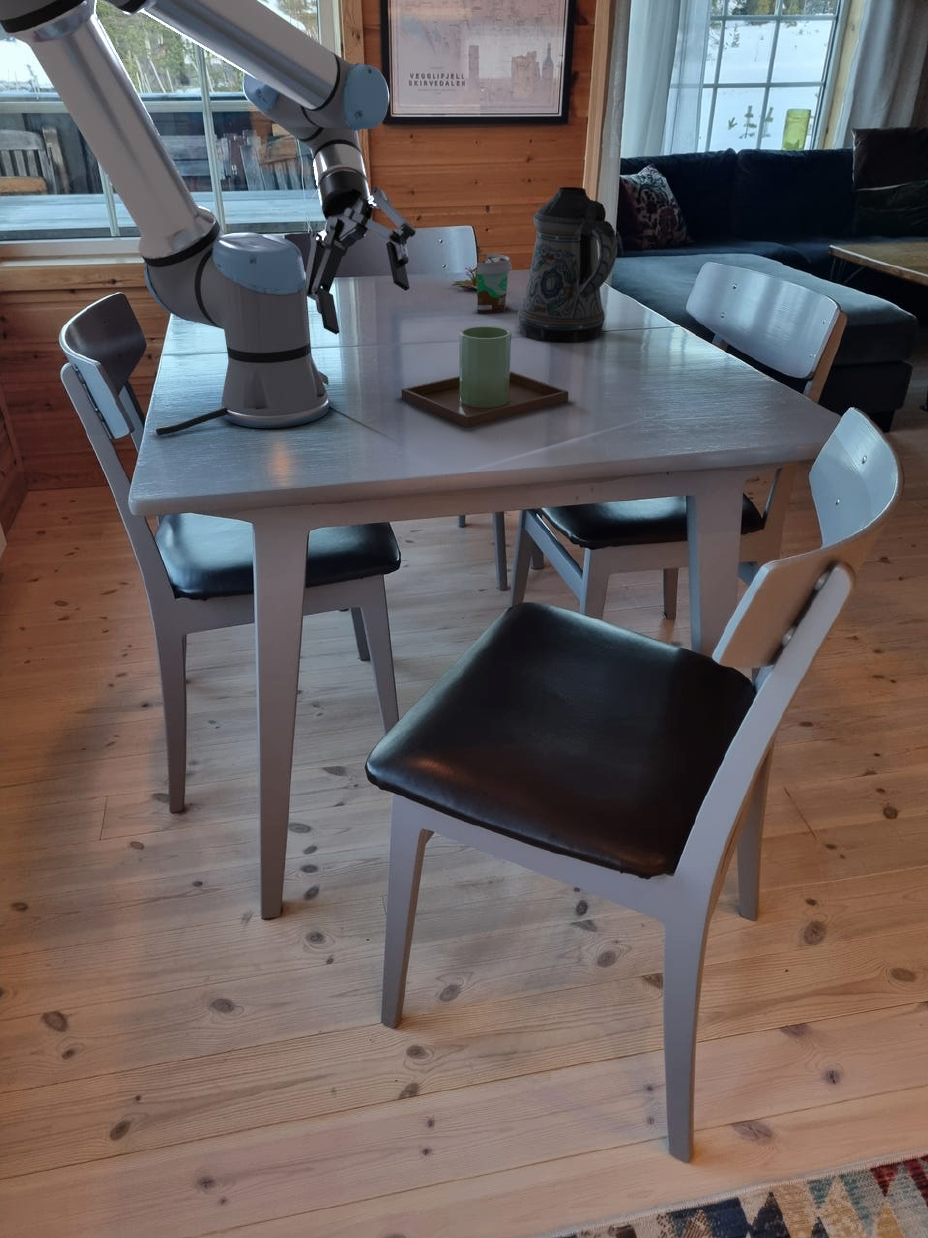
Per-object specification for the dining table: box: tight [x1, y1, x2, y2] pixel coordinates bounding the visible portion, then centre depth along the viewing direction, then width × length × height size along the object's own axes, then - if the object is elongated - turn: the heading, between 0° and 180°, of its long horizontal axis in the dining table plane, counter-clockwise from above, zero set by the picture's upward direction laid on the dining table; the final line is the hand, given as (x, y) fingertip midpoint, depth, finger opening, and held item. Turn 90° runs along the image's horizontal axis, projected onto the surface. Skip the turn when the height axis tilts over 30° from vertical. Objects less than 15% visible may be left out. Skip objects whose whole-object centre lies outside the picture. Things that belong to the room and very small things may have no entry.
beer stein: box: [517, 186, 618, 343], centre depth 161 cm, size 16×19×25 cm
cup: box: [459, 325, 512, 408], centre depth 129 cm, size 7×7×10 cm
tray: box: [400, 370, 569, 429], centre depth 131 cm, size 19×16×2 cm
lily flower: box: [450, 266, 477, 290], centre depth 202 cm, size 12×12×5 cm
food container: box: [476, 253, 513, 315], centre depth 182 cm, size 12×6×10 cm, turn 168°
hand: (365, 308), depth 126 cm, fingers open, 13 cm apart
